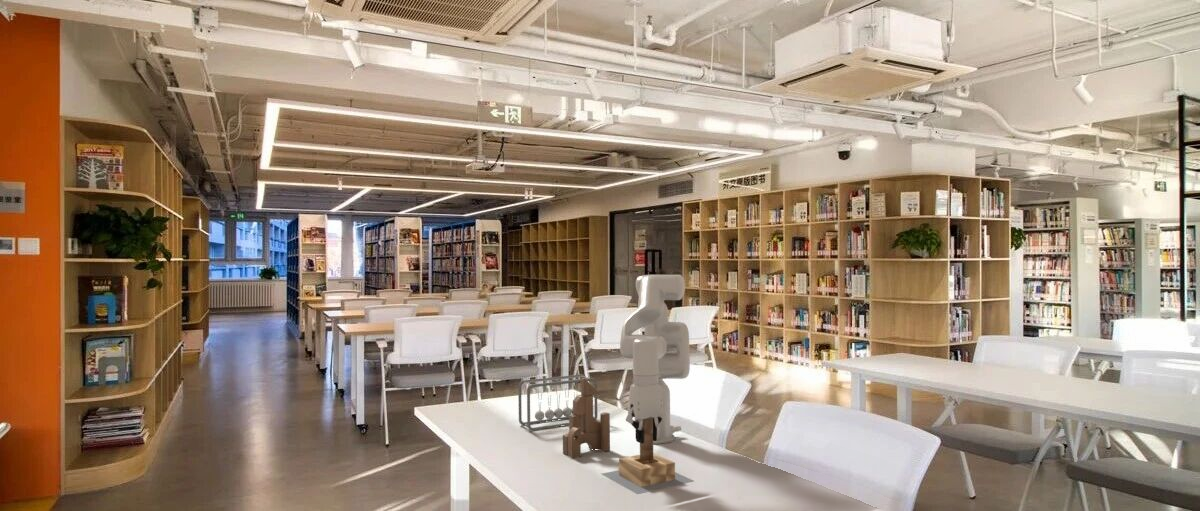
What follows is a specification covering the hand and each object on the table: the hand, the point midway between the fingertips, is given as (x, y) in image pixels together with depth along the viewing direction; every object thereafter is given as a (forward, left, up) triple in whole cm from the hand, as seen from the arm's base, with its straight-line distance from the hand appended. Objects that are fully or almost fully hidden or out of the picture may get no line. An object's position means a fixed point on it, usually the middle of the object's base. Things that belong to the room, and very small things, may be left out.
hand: (646, 440), depth 199 cm
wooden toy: (+2, -33, -12) cm, 35 cm away
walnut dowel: (0, 0, -5) cm, 5 cm away
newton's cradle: (-7, -73, -12) cm, 74 cm away
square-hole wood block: (0, 0, -11) cm, 11 cm away
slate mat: (0, 0, -11) cm, 11 cm away
